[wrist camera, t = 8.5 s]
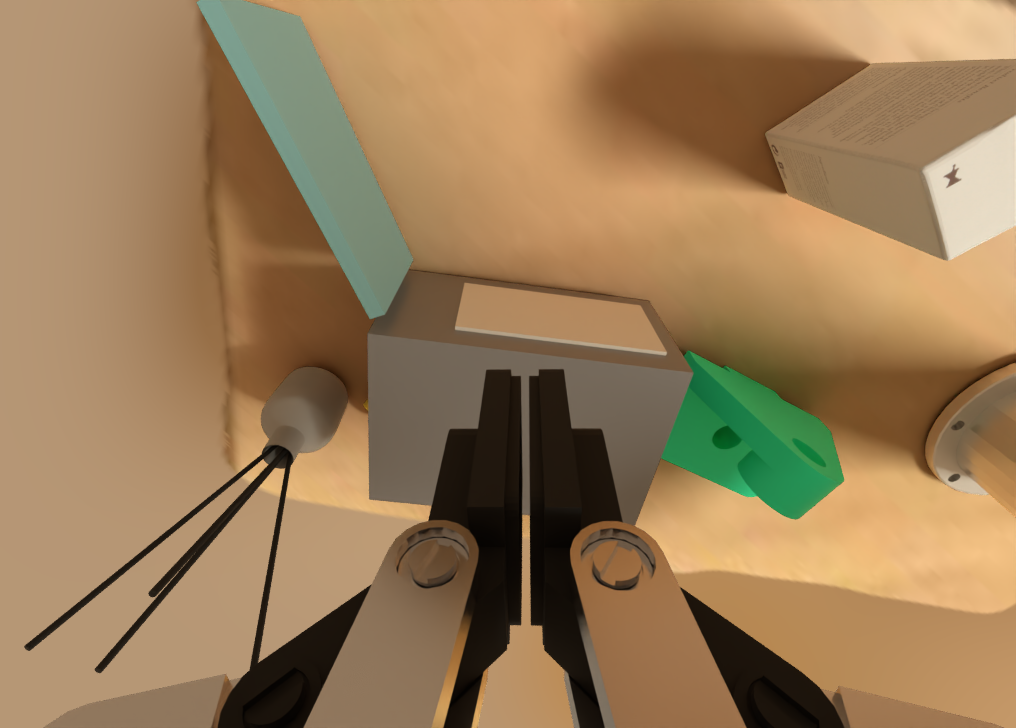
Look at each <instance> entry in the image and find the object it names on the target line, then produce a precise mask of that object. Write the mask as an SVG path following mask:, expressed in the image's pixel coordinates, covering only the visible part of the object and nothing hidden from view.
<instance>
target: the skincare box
mask: <svg viewBox="0 0 1016 728" xmlns="http://www.w3.org/2000/svg"><path fill="white" fill-rule="evenodd" d="M765 136H766V139H767V141H768V144H769V146H770V149H771V152H772V154H773V157H774V159H775V162H776V165H777V167H778V170H779V172H780V175H781V178H782V180H783V183H784V186H785V188H786V191H787V194H788V195H789V196H790V197H792V198H795V199H798V200H800V201H802V202H805V203H807V204H810V205H812V206H814V207H817V208H819V209H822V210H824V211H827V212H829V213H831V214H834V215H836V216H838V217H841V218H844V219H846V220H848V221H851V222H853V223H856V224H858V225H860V226H863V227H865V228H868V229H870V230H872V231H875V232H877V233H880V234H882V235H885V236H887V237H889V238H892V239H894V240H897V241H899V242H902V243H904V244H906V245H909V246H912V247H914V248H916V249H919V250H921V251H923V252H926V253H928V254H931V255H933V256H936V257H938V258H941V259H943V260H951V259H953V258H955V257H957V256H959V255H960V254H962V253H964V252H966V251H968V250H970V249H972V248H974V247H975V246H977V245H979V244H981V243H983V242H985V241H987V240H989V239H991V238H993V237H995V236H997V235H999V234H1000V233H1002V232H1004V231H1006V230H1008V229H1010V228H1012V227H1014V226H1016V59H998V60H965V61H934V62H902V63H874V64H871V65H869V66H868V67H866V68H865V69H863V70H862V71H860V72H859V73H857V74H856V75H854V76H852V77H851V78H849V79H848V80H846V81H845V82H843V83H842V84H840V85H838V86H837V87H835V88H834V89H832V90H831V91H829V92H828V93H826V94H824V95H823V96H821V97H820V98H818V99H817V100H815V101H814V102H812V103H811V104H809V105H808V106H806V107H804V108H803V109H801V110H800V111H798V112H797V113H795V114H794V115H792V116H791V117H789V118H787V119H786V120H784V121H783V122H781V123H780V124H778V125H776V126H775V127H773V128H772V129H770V130H769V131H767V132H766V133H765Z"/></svg>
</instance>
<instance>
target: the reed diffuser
mask: <svg viewBox="0 0 1016 728" xmlns="http://www.w3.org/2000/svg"><path fill="white" fill-rule="evenodd" d="M347 403H348V394H347V390H346V388H345V386H344V384H343V383H342V382H341V380H340V379H339V378H338V377H336V376H335V375H334V374H332V373H331V372H329V371H327V370H324V369H321V368H317V367H303V368H299V369H296V370H294V371H293V372H291V373H290V374H289V375H288V376H287V377H286V378H285V380H284V381H283V382H282V383H281V384H280V385H279V387H278V388H277V389H276V390H275V391H274V393H273V394H272V395H271V396H270V398H269V399H268V400H267V402H266V404H265V406H264V408H263V410H262V414H261V425H262V428H263V431H264V432H265V434H266V435H267V437H268V438H269V441H268V443H267V444H266V446H265V447H264V449H263V451H262V455H260V456H259V457H258V458H257V459H255V460H254V461H253V462H252V463H250V464H249V465H248V466H247V467H245V468H244V469H243V470H242V471H241V472H239V473H238V474H237V475H236V476H234V477H233V478H232V479H231V480H229V481H228V482H227V483H226V484H224V485H223V486H222V487H221V488H220V489H218V490H217V491H216V492H215V493H213V494H212V495H211V496H210V497H208V498H207V499H206V500H205V501H204V502H202V503H201V504H200V505H199V506H197V507H196V508H195V509H193V510H192V511H191V512H190V513H189V514H187V515H186V516H185V517H184V518H182V519H181V520H180V521H179V522H177V523H176V524H175V525H174V526H173V527H171V528H170V529H169V530H167V531H166V532H165V533H164V534H163V535H162V536H160V537H159V538H158V539H157V540H155V541H154V542H153V543H151V544H150V545H149V546H148V547H147V548H146V549H144V550H143V551H142V552H140V553H139V554H138V555H137V556H135V557H134V558H133V559H132V560H130V561H129V562H128V563H127V564H125V565H124V566H123V567H122V568H121V569H119V570H118V571H117V572H115V573H114V574H113V575H112V576H111V577H109V578H108V579H107V580H106V581H104V582H103V583H102V584H101V585H99V586H98V587H97V588H96V589H94V590H93V591H92V592H91V593H90V594H88V595H87V596H86V597H85V598H83V599H82V600H81V601H80V602H78V603H77V604H76V605H75V606H73V607H72V608H71V609H70V610H69V611H67V612H66V613H65V614H63V615H62V616H61V617H60V618H58V619H57V620H56V621H55V622H54V623H52V624H51V625H50V626H49V627H47V628H46V629H45V630H44V631H42V632H41V633H40V634H39V635H37V636H36V637H35V638H34V639H32V640H31V641H30V642H29V643H28V644H26V645H25V646H24V647H25V649H26V650H28V651H30V650H31V649H33V648H34V647H35V646H36V645H37V644H39V643H40V642H41V641H42V640H43V639H45V638H46V637H47V636H48V635H50V634H51V633H52V632H53V631H54V630H56V629H57V628H58V627H59V626H60V625H62V624H63V623H64V622H65V621H66V620H68V619H69V618H70V617H71V616H73V615H74V614H75V613H76V612H78V611H79V610H80V609H81V608H82V607H84V606H85V605H86V604H87V603H89V602H90V601H91V600H92V599H93V598H95V597H96V596H97V595H98V594H99V593H101V592H102V591H103V590H104V589H106V588H107V587H108V586H109V585H110V584H112V583H113V582H114V581H115V580H117V579H118V578H119V577H120V576H121V575H123V574H124V573H125V572H126V571H127V570H129V569H130V568H131V567H132V566H133V565H135V564H136V563H137V562H138V561H139V560H141V559H142V558H143V557H144V556H146V555H147V554H148V553H149V552H151V551H152V550H153V549H154V548H155V547H157V546H158V545H159V544H160V543H162V542H163V541H164V540H165V539H166V538H168V537H169V536H170V535H171V534H172V533H174V532H175V531H176V530H177V529H179V528H180V527H181V526H182V525H183V524H185V523H186V522H187V521H188V520H189V519H191V518H192V517H193V516H194V515H195V514H197V513H198V512H199V511H200V510H202V509H203V508H204V507H205V506H207V505H208V504H209V503H210V502H211V501H213V500H214V499H215V498H216V497H218V495H220V494H221V493H222V492H224V491H225V490H226V489H227V488H228V487H230V486H231V485H232V484H233V483H235V482H236V481H237V480H238V479H239V478H241V477H242V476H243V475H244V474H246V473H247V472H248V471H249V470H250V469H252V468H253V467H254V466H255V465H256V464H258V463H259V462H260V461H261V460H263V459H264V461H265V462H266V463H267V464H269V465H268V466H267V467H266V468H265V469H264V470H263V471H262V472H261V473H260V474H259V476H258V477H257V478H256V479H255V480H254V481H253V482H252V483H251V484H250V485H249V486H248V487H247V488H246V489H245V490H244V491H243V493H242V494H241V495H240V496H239V497H238V498H237V499H236V500H235V501H234V502H233V503H232V504H231V505H230V506H229V507H228V508H227V510H226V511H225V512H224V513H223V514H222V515H221V516H220V517H219V518H218V519H217V520H216V521H215V522H214V523H213V524H212V526H211V527H210V528H209V529H208V530H207V531H206V532H205V533H204V534H203V535H202V536H201V537H200V538H199V539H198V541H196V543H195V544H194V545H193V546H192V547H191V548H190V549H189V550H188V551H187V552H186V553H185V554H184V555H183V557H181V558H180V560H179V561H178V562H177V563H176V564H175V565H174V566H173V567H172V568H171V569H170V570H169V571H168V572H167V573H166V574H165V576H164V577H163V578H162V579H161V580H160V581H159V582H158V583H157V584H156V585H155V586H154V587H153V588H152V589H151V591H150V592H149V596H150V597H155V596H156V595H157V594H158V593H159V592H160V591H161V590H162V589H163V588H164V586H165V585H166V584H167V583H168V582H169V581H170V580H171V579H172V578H173V577H174V575H175V574H176V573H177V572H178V571H179V570H180V569H181V568H182V567H183V565H184V564H185V563H186V562H187V561H188V560H189V559H190V560H189V561H188V562H187V563H186V564H185V565H184V567H183V568H182V569H181V570H180V571H179V572H178V574H177V575H176V576H175V577H174V578H173V579H172V580H171V581H170V583H169V584H168V585H167V586H166V587H165V588H164V590H163V591H162V592H161V593H160V594H159V595H158V597H157V598H156V599H155V600H154V601H153V602H152V603H151V605H150V606H149V607H148V608H147V609H146V610H145V612H144V613H143V614H142V615H141V616H140V617H139V618H138V620H137V621H136V622H135V623H134V624H133V625H132V627H131V628H130V629H129V630H128V631H127V632H126V634H125V635H124V636H123V637H122V638H121V639H120V640H119V642H118V643H117V644H116V645H115V646H114V647H113V649H112V650H111V651H110V652H109V653H108V654H107V656H106V657H105V658H104V659H103V660H102V661H101V662H100V664H99V665H98V666H97V667H96V668H95V671H96V672H98V673H101V672H102V671H103V670H104V669H105V668H106V667H107V665H108V664H109V663H110V662H111V661H112V659H113V658H114V657H115V656H116V655H117V654H118V652H119V651H120V650H121V649H122V648H123V646H124V645H125V644H126V643H127V642H128V640H129V639H130V638H131V637H132V636H133V635H134V633H135V632H136V631H137V630H138V629H139V627H140V626H141V625H142V624H143V623H144V622H145V621H146V619H147V618H148V617H149V616H150V614H151V613H152V612H153V611H154V610H155V609H156V608H157V606H158V605H159V604H160V603H161V602H162V600H163V599H164V598H165V597H166V595H168V593H169V592H170V591H171V590H172V589H173V587H174V586H175V585H176V584H177V583H178V582H179V580H180V579H181V578H182V577H183V576H184V574H185V573H186V572H187V571H188V570H189V569H190V567H191V566H192V565H193V564H194V563H195V562H196V560H197V559H198V558H199V557H200V555H201V554H202V553H203V552H204V551H205V550H206V549H207V547H208V546H209V545H210V544H211V543H212V541H213V540H214V539H215V538H216V537H217V535H218V534H219V533H220V532H221V531H222V530H223V528H224V527H225V526H226V525H227V524H228V522H229V521H230V520H231V519H232V518H233V517H234V515H235V514H236V513H237V512H238V511H239V510H240V508H241V507H242V506H243V505H244V504H245V502H246V501H247V500H248V499H249V498H250V497H251V495H252V494H253V493H254V492H255V491H256V489H257V488H258V487H259V486H260V485H261V484H262V482H263V481H264V480H265V479H266V478H267V477H268V475H269V474H270V473H271V472H272V471H273V469H274V468H285V474H284V479H283V485H282V490H281V496H280V502H279V507H278V513H277V519H276V525H275V530H274V535H273V541H272V547H271V552H270V558H269V564H268V570H267V575H266V581H265V586H264V592H263V597H262V603H261V609H260V614H259V620H258V625H257V631H256V637H255V643H254V648H253V654H252V659H251V666H250V670H251V669H252V668H253V667H254V666H255V665H257V664H258V660H259V654H260V648H261V642H262V636H263V630H264V624H265V618H266V612H267V606H268V600H269V593H270V587H271V582H272V575H273V570H274V563H275V557H276V550H277V545H278V539H279V533H280V526H281V521H282V515H283V509H284V503H285V497H286V491H287V485H288V479H289V473H290V467H291V465H292V463H293V462H294V460H295V458H296V457H297V455H298V453H310V452H314V451H317V450H319V449H321V448H322V447H324V446H325V445H326V444H327V443H328V442H329V441H330V440H331V439H332V437H333V436H334V434H335V432H336V430H337V428H338V426H339V423H340V421H341V419H342V416H343V414H344V411H345V409H346V406H347ZM363 406H364V407H365V409H366V410H367V411H368V399H367V400H366V401H365V402H364V404H363ZM195 552H196V553H195ZM194 553H195V554H194Z"/></svg>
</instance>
